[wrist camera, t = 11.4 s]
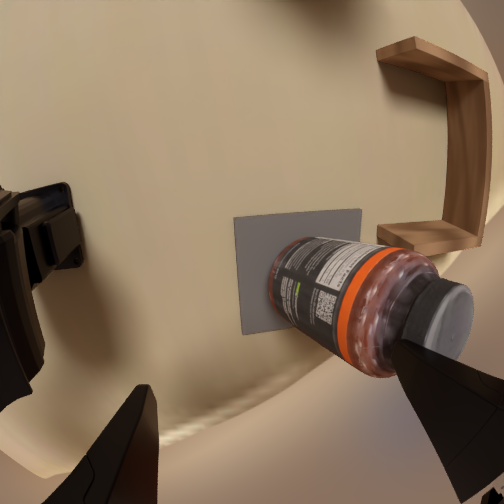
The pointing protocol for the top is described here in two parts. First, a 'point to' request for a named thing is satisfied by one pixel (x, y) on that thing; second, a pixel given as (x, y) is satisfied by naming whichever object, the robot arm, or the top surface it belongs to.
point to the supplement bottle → (369, 301)
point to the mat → (269, 247)
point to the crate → (450, 150)
